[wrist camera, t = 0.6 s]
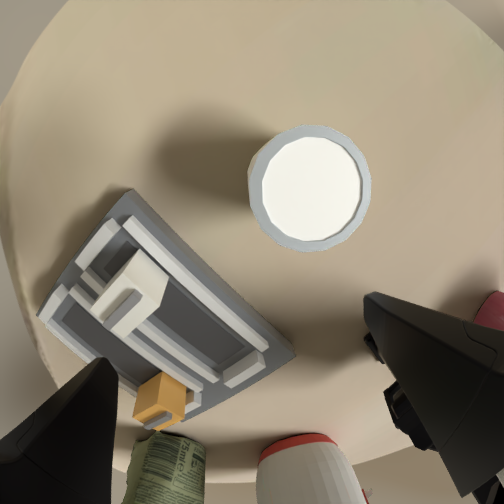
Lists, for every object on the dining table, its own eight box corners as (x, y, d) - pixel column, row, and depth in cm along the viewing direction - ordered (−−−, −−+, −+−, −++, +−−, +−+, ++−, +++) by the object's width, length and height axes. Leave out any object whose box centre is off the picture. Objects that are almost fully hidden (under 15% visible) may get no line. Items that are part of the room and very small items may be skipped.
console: (291, 342, 26) (300, 367, 22) (183, 409, 28) (182, 432, 25) (133, 188, 19) (117, 197, 15) (44, 304, 21) (28, 324, 18)
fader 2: (186, 386, 23) (184, 424, 19) (162, 401, 24) (157, 436, 20) (162, 370, 22) (156, 408, 18) (139, 386, 23) (131, 422, 19)
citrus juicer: (333, 457, 39) (361, 536, 21) (244, 469, 37) (258, 560, 18) (363, 415, 34) (410, 514, 15) (253, 430, 31) (276, 557, 13)
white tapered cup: (250, 230, 21) (265, 267, 15) (228, 142, 18) (233, 138, 12) (332, 209, 21) (377, 236, 15) (317, 124, 19) (362, 117, 12)
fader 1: (169, 276, 19) (157, 311, 15) (136, 307, 20) (121, 344, 15) (139, 248, 18) (119, 277, 14) (108, 281, 19) (86, 314, 14)
